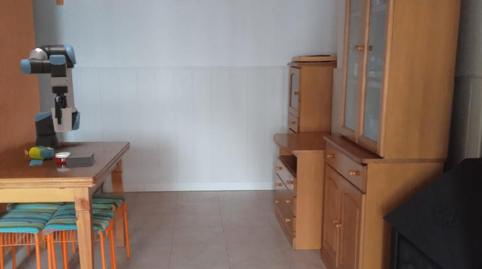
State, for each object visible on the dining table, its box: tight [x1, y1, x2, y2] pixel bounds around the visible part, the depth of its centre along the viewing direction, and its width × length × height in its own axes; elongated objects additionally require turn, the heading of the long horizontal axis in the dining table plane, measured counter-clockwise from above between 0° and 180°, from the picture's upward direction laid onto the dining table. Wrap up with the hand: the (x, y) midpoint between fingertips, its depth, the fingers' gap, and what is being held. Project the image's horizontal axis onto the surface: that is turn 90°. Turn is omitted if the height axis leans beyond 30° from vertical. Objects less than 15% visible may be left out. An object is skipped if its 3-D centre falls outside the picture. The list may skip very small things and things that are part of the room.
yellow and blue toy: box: [23, 146, 55, 167], centre depth 250 cm, size 28×9×15 cm
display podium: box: [65, 151, 95, 168], centre depth 238 cm, size 12×12×5 cm
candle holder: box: [50, 107, 73, 133], centre depth 231 cm, size 10×10×12 cm
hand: (63, 129), depth 232 cm, fingers closed on candle holder, 9 cm apart
